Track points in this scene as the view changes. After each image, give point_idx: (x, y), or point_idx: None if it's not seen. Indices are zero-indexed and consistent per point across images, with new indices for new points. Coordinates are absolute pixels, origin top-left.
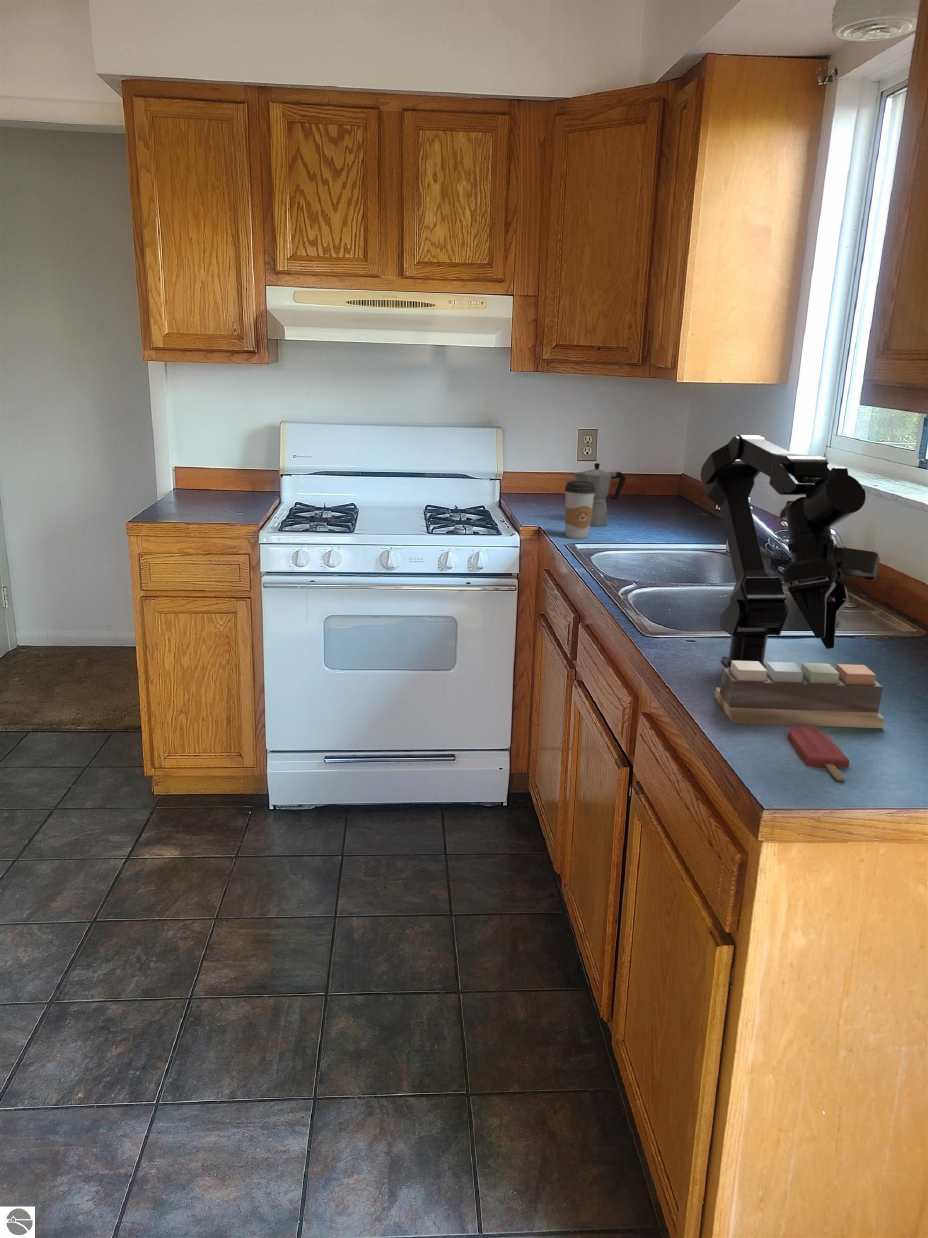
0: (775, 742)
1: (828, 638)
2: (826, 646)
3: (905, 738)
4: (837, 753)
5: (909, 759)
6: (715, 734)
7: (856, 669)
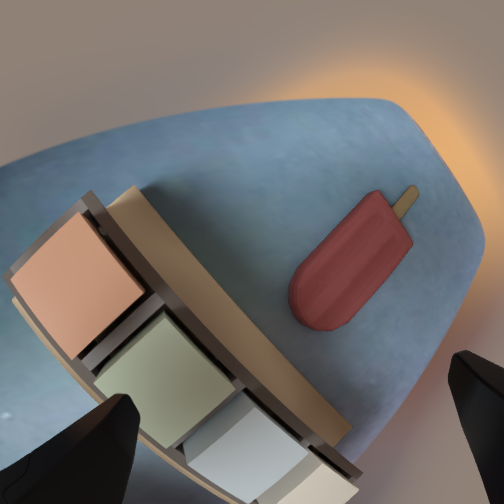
0: (366, 327)
1: (116, 439)
2: (137, 421)
3: (159, 140)
4: (373, 213)
5: (262, 115)
6: (394, 403)
7: (73, 284)
